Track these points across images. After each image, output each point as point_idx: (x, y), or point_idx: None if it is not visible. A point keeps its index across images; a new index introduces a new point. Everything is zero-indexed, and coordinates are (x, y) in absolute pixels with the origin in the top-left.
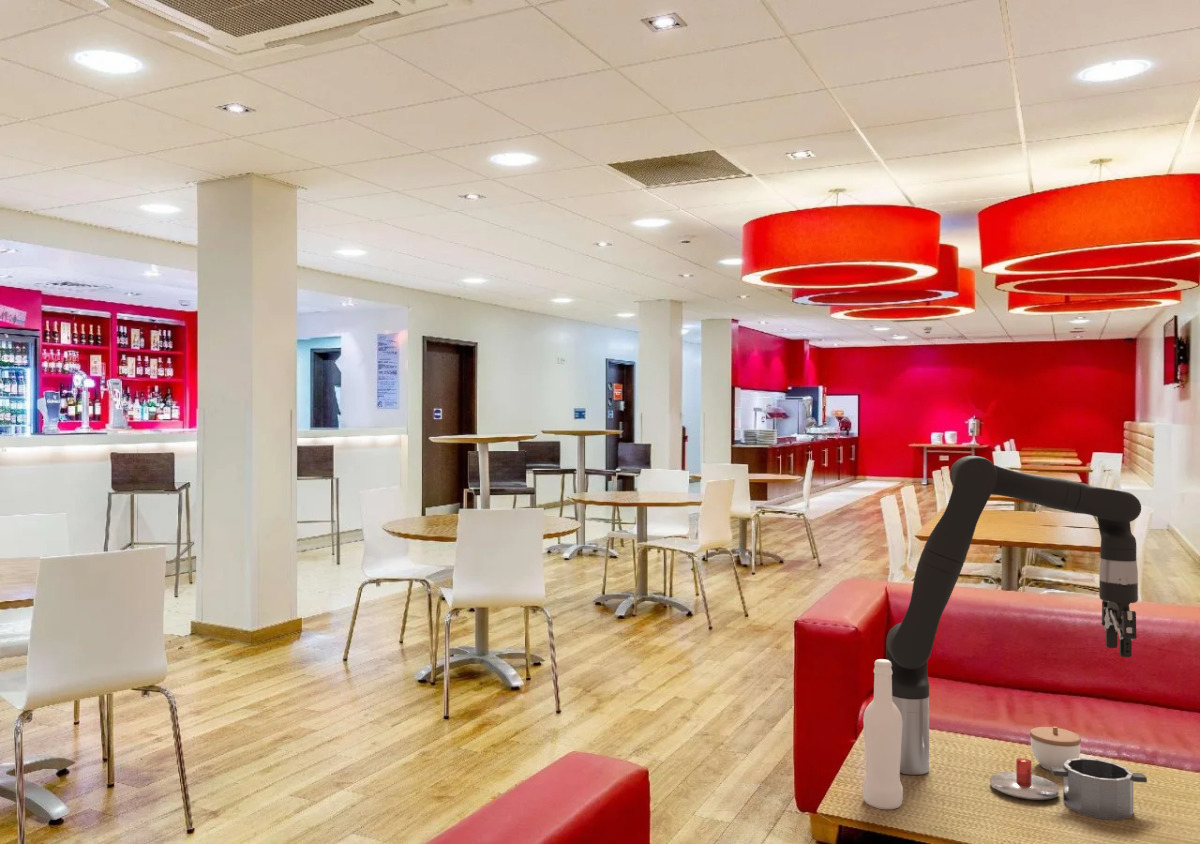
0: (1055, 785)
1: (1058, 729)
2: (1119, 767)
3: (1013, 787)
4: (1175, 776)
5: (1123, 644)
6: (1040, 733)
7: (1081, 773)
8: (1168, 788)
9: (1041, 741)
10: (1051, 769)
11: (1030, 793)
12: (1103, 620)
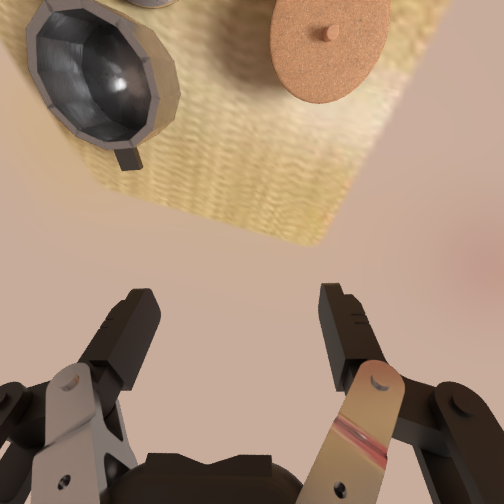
0: (158, 1)
1: (363, 54)
2: (135, 135)
3: None
4: (300, 230)
5: (94, 344)
6: None
7: (37, 31)
8: (252, 210)
9: None
10: None
11: None
12: (456, 440)
